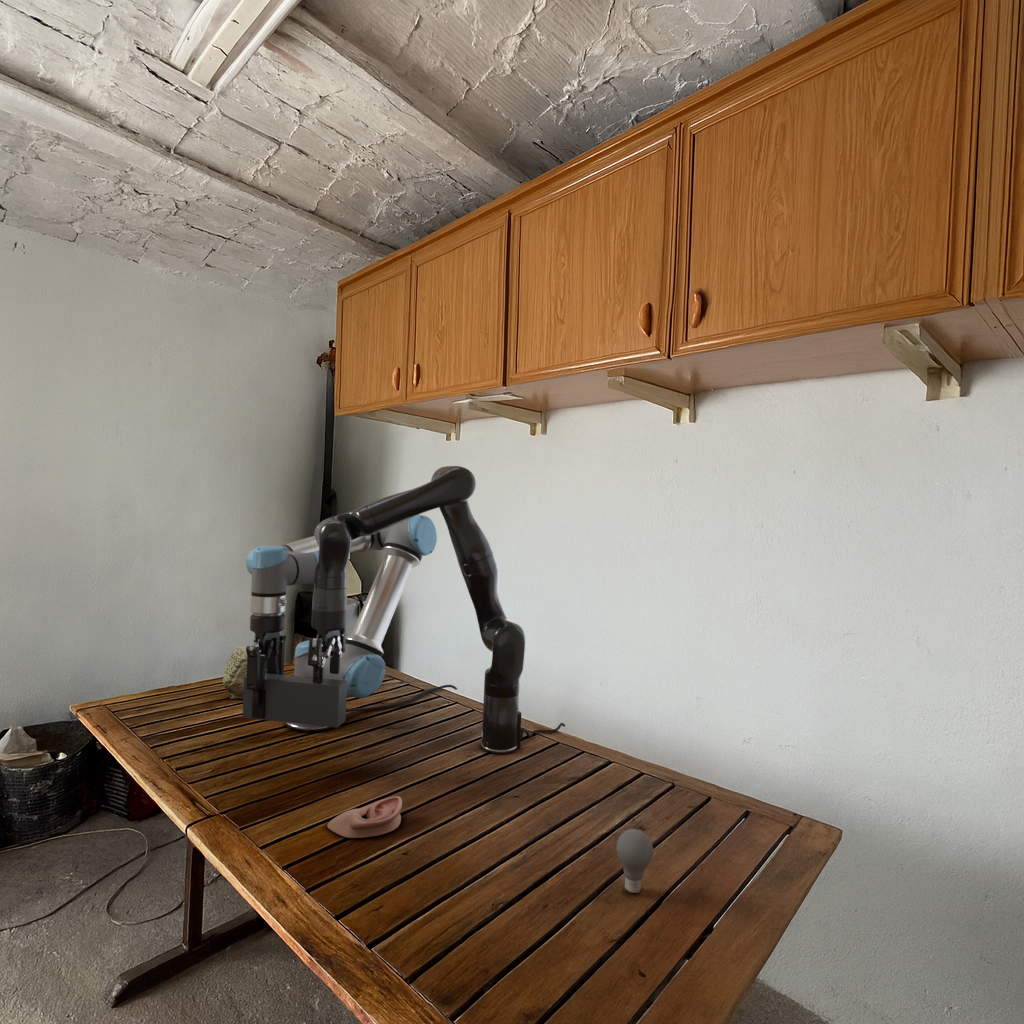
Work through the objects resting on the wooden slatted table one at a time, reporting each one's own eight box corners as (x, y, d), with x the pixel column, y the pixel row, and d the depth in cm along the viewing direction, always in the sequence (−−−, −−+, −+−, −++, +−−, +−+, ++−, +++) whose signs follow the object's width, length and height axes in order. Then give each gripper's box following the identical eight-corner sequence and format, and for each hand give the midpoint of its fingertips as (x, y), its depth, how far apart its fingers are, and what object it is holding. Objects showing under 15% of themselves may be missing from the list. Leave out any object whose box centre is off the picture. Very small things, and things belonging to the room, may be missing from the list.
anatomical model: (320, 812, 119) (347, 786, 130) (319, 833, 119) (347, 805, 130) (386, 822, 116) (408, 795, 127) (385, 844, 116) (408, 814, 128)
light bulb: (610, 879, 108) (613, 822, 108) (644, 879, 109) (647, 822, 109) (619, 902, 102) (622, 840, 102) (655, 901, 103) (658, 840, 103)
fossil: (218, 695, 195) (220, 647, 195) (278, 685, 208) (279, 640, 207) (228, 703, 189) (230, 653, 188) (289, 692, 201) (290, 645, 201)
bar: (242, 717, 145) (243, 677, 144) (253, 711, 149) (254, 672, 149) (337, 727, 141) (339, 686, 141) (345, 720, 146) (347, 680, 145)
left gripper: (262, 621, 136) (258, 728, 137) (301, 608, 154) (298, 703, 154) (230, 619, 138) (226, 725, 138) (272, 606, 155) (269, 700, 155)
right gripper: (331, 613, 136) (328, 688, 136) (357, 603, 150) (354, 671, 150) (298, 611, 137) (295, 685, 137) (327, 601, 151) (324, 668, 151)
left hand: (264, 713), depth 146 cm, fingers closed on bar, 4 cm apart
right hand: (326, 678), depth 144 cm, fingers open, 8 cm apart
